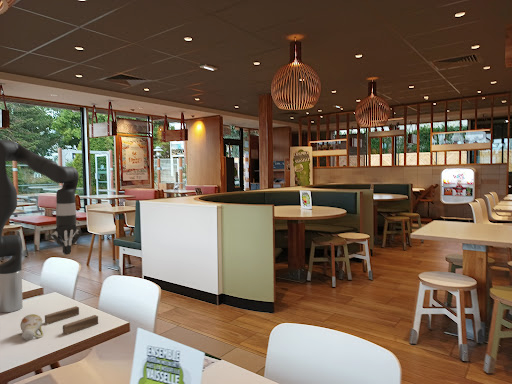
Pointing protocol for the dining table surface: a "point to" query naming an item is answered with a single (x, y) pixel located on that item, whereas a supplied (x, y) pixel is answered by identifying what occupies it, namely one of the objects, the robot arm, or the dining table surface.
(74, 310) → the wooden guide rails
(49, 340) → the dining table surface
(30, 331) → the mug
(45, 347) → the dining table surface
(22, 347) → the dining table surface
